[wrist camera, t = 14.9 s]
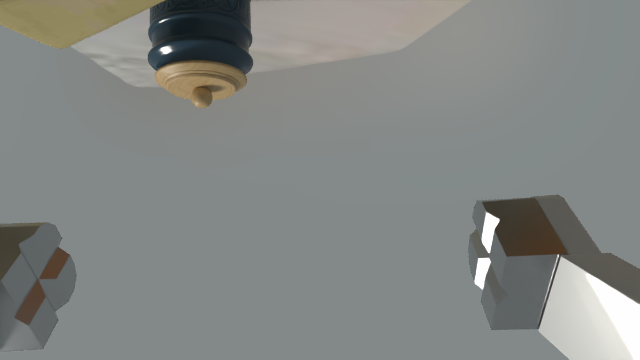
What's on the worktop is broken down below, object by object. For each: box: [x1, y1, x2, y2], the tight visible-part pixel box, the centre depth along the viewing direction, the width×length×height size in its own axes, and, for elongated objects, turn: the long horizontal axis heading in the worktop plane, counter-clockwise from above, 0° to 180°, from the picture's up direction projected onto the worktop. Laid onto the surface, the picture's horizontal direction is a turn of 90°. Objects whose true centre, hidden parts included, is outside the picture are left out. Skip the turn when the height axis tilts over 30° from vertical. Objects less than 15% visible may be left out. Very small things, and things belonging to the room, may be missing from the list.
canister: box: [148, 0, 253, 108], centre depth 63 cm, size 13×13×18 cm
